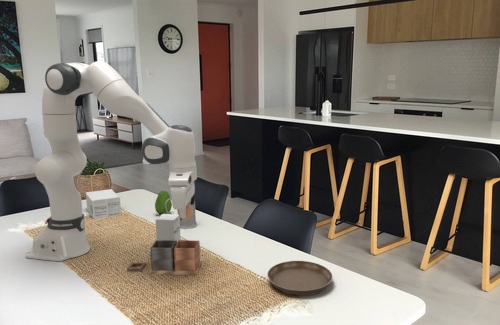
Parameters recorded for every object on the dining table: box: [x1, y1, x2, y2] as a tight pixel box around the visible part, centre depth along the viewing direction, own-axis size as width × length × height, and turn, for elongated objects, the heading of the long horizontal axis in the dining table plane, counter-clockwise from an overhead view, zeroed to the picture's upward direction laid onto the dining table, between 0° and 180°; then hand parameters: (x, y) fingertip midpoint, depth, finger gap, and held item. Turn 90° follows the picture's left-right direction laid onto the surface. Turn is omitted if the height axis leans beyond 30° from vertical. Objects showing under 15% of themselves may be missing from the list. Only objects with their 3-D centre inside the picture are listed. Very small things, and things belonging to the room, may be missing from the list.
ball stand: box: [126, 261, 147, 273], centre depth 153 cm, size 5×5×1 cm
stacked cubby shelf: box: [149, 239, 202, 276], centre depth 152 cm, size 16×9×9 cm, turn 87°
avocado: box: [154, 190, 173, 216], centre depth 211 cm, size 8×8×12 cm
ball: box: [177, 205, 193, 220], centre depth 149 cm, size 5×5×5 cm
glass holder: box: [165, 194, 198, 230], centre depth 194 cm, size 9×14×15 cm, turn 124°
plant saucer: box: [267, 260, 333, 296], centre depth 142 cm, size 21×21×3 cm
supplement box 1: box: [85, 188, 122, 220], centre depth 216 cm, size 17×13×9 cm
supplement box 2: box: [155, 213, 181, 242], centre depth 171 cm, size 7×7×13 cm
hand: (185, 214), depth 149 cm, fingers closed on ball, 5 cm apart
